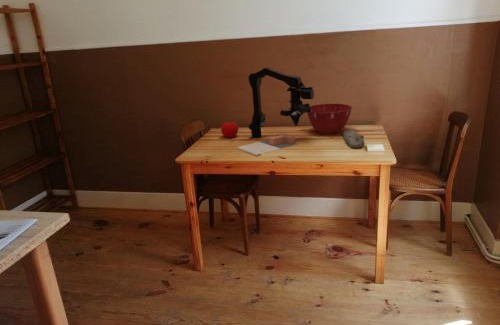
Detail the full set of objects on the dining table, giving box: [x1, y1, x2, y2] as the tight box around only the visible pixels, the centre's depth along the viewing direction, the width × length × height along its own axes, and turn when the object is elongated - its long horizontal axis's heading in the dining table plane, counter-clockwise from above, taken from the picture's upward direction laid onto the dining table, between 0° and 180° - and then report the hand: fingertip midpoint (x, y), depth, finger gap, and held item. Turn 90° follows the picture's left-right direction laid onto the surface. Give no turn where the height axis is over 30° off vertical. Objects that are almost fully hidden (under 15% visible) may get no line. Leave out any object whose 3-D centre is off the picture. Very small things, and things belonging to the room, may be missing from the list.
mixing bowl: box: [306, 103, 353, 135], centre depth 243 cm, size 28×28×16 cm
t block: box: [268, 132, 296, 146], centre depth 221 cm, size 12×12×4 cm
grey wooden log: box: [342, 129, 365, 149], centre depth 222 cm, size 35×5×10 cm
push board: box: [236, 139, 298, 157], centre depth 219 cm, size 20×29×1 cm
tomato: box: [220, 120, 239, 139], centre depth 246 cm, size 11×13×10 cm
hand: (296, 125), depth 226 cm, fingers closed
